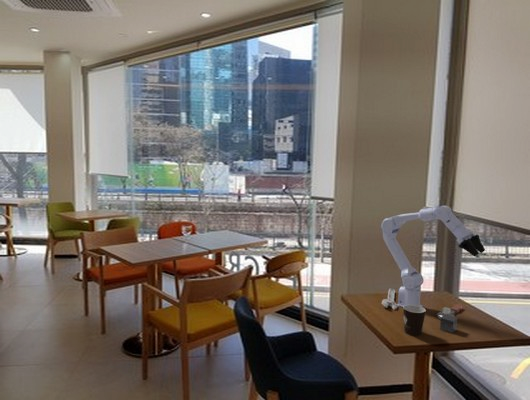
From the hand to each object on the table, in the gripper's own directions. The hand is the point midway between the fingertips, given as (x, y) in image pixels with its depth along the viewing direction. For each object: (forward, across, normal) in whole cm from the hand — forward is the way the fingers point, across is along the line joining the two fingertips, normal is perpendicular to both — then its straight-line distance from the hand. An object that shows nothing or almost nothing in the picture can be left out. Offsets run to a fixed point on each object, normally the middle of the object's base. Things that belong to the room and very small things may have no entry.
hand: (480, 253), depth 175 cm
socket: (+17, -16, +26) cm, 35 cm away
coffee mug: (+10, -28, +32) cm, 44 cm away
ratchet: (+13, +3, +31) cm, 33 cm away
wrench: (-5, 0, +48) cm, 48 cm away
